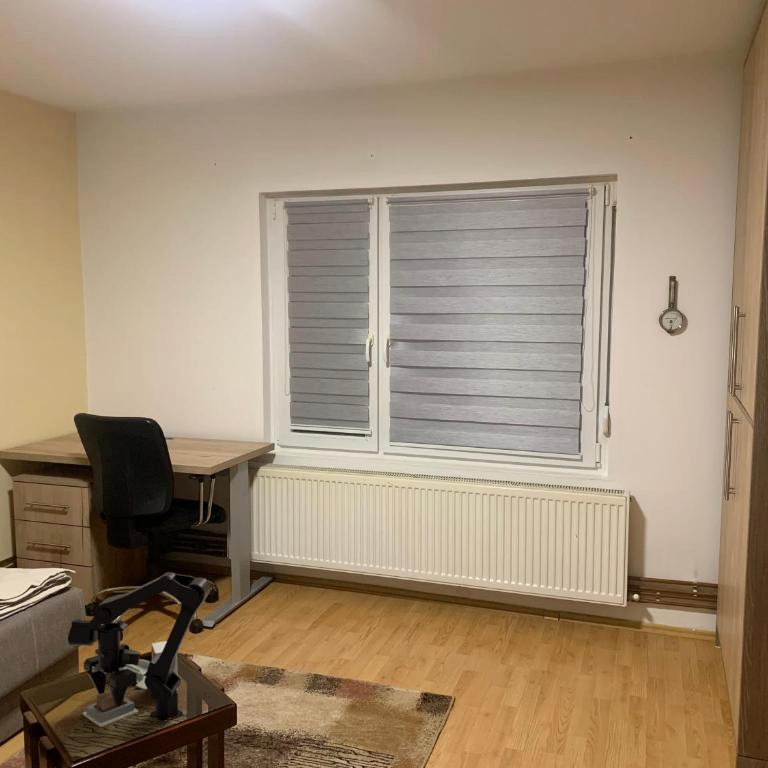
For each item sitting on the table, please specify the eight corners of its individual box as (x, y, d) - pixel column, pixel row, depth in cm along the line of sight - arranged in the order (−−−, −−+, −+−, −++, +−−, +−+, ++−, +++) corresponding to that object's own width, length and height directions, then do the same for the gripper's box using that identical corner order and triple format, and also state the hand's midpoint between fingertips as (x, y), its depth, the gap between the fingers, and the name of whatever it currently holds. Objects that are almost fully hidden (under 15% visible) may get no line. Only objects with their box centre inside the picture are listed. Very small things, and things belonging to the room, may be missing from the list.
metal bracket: (106, 667, 231) (132, 648, 246) (101, 685, 232) (128, 664, 246) (149, 685, 228) (173, 664, 243) (144, 703, 229) (168, 681, 244)
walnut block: (124, 710, 215) (124, 692, 215) (104, 718, 211) (103, 700, 210) (117, 705, 218) (116, 688, 217) (96, 713, 213) (96, 695, 213)
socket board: (138, 712, 215) (138, 703, 215) (100, 726, 207) (100, 717, 207) (119, 700, 222) (119, 692, 221) (82, 714, 213) (82, 705, 213)
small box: (151, 686, 231) (151, 643, 230) (173, 682, 234) (173, 639, 233) (155, 697, 224) (154, 653, 223) (178, 693, 226) (177, 649, 226)
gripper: (154, 645, 213) (155, 701, 214) (119, 628, 225) (120, 681, 226) (116, 658, 205) (117, 716, 205) (82, 639, 217) (83, 694, 218)
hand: (110, 701), depth 214 cm, fingers open, 9 cm apart
